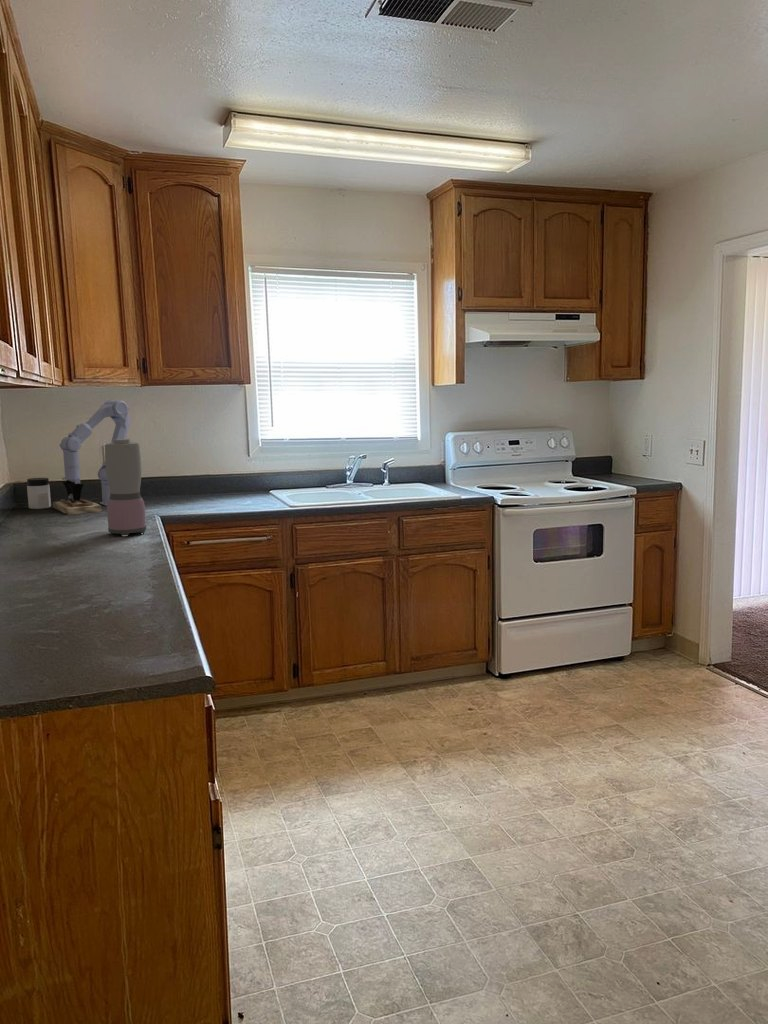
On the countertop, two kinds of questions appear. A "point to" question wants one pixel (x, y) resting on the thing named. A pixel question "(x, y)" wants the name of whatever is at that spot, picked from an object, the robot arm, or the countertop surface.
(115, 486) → the blender
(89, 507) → the board
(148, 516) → the countertop surface
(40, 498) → the jar
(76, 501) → the ball
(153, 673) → the countertop surface
